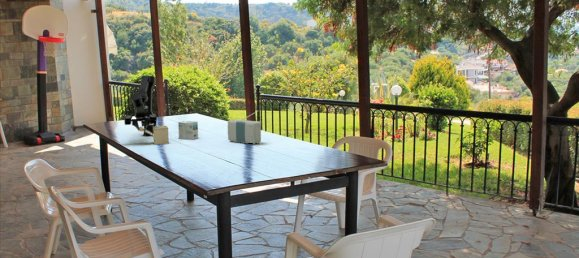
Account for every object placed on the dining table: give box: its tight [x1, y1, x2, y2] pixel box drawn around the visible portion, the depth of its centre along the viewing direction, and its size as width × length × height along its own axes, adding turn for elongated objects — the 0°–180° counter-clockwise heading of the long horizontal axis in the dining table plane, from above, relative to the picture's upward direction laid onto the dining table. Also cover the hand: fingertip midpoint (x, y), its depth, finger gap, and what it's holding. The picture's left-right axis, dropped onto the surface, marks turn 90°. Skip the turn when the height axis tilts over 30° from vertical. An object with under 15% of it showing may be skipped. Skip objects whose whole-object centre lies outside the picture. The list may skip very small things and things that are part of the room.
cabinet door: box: [139, 126, 154, 136], centre depth 334 cm, size 2×9×9 cm
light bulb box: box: [177, 120, 199, 140], centre depth 352 cm, size 11×7×11 cm, turn 71°
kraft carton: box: [152, 125, 170, 145], centre depth 337 cm, size 8×10×10 cm
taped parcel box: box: [227, 110, 262, 145], centre depth 337 cm, size 21×8×20 cm, turn 56°
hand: (142, 130), depth 329 cm, fingers closed on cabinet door, 3 cm apart
